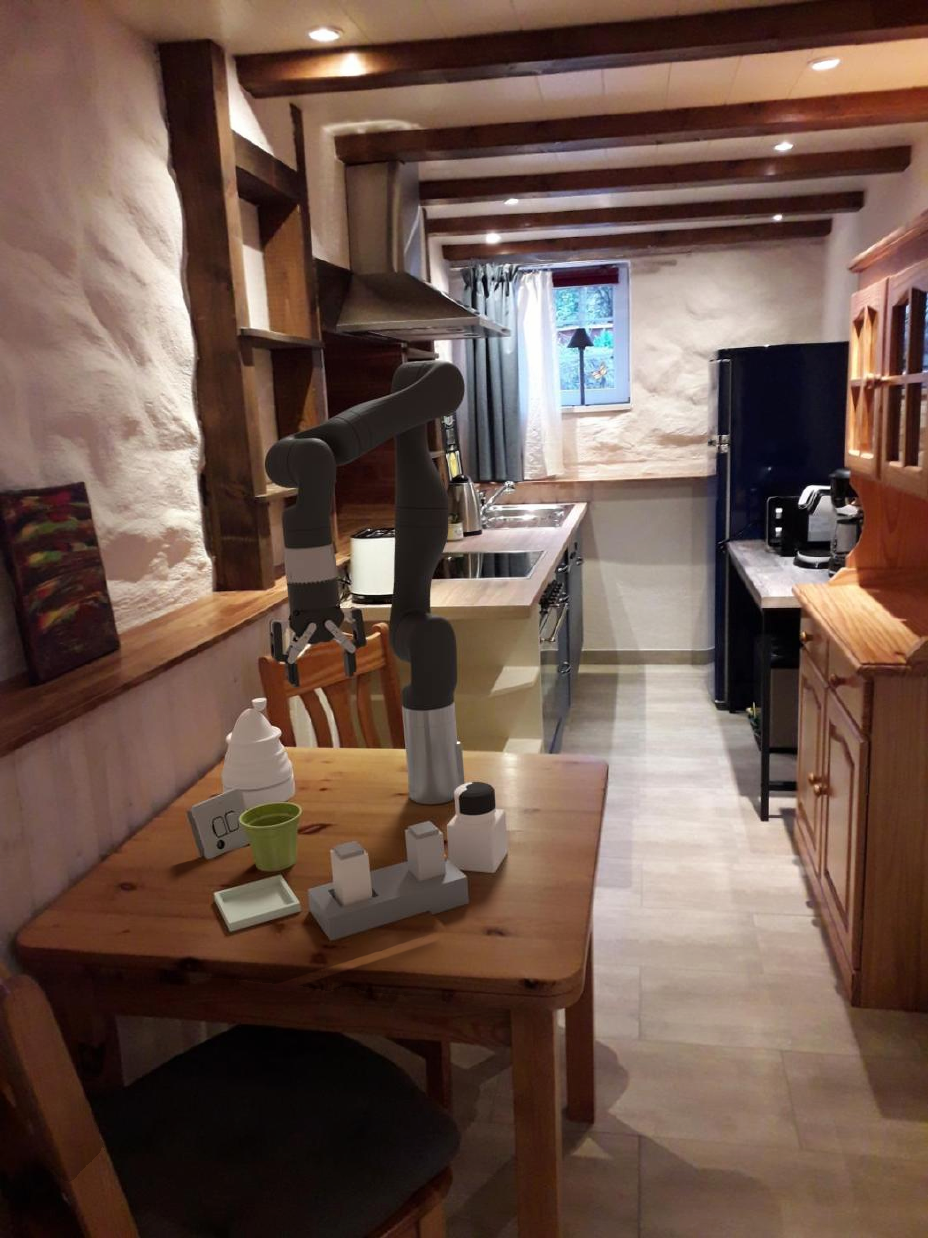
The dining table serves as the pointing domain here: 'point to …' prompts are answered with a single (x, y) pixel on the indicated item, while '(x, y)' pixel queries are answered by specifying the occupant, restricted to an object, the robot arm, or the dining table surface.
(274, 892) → the tray
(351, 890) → the plug
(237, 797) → the electrical switch
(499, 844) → the medicine bottle
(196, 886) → the dining table surface
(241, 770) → the honey pot
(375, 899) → the grey peg socket block
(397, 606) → the robot arm
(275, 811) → the plant pot
